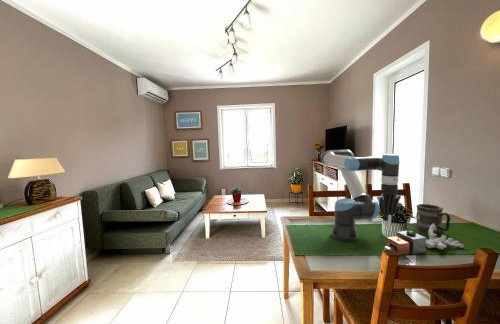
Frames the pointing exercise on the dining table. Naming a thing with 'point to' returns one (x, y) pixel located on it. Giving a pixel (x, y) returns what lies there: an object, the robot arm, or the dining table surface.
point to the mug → (430, 217)
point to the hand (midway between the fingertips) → (387, 226)
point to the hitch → (410, 242)
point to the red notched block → (399, 244)
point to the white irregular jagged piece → (440, 240)
